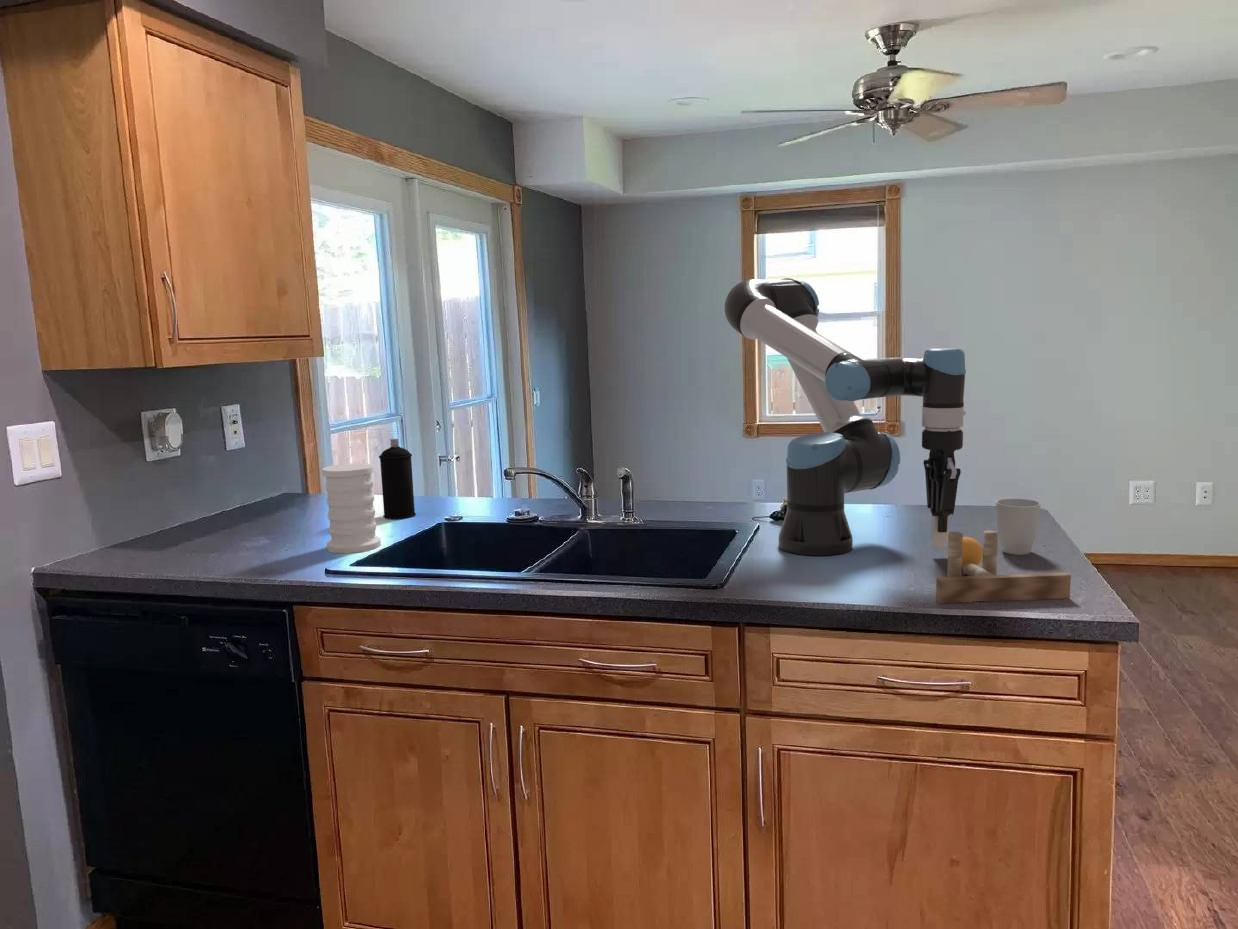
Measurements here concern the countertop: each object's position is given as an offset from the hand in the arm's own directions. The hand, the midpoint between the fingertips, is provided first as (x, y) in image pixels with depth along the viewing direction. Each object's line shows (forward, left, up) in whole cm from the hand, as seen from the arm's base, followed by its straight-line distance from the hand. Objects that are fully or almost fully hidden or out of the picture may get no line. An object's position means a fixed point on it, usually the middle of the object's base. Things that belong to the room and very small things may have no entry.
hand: (939, 547), depth 181 cm
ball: (+2, -9, +1) cm, 9 cm away
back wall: (0, -28, -2) cm, 28 cm away
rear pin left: (+3, -16, -2) cm, 16 cm away
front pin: (+1, -13, -1) cm, 13 cm away
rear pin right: (-3, -16, -2) cm, 16 cm away
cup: (+16, +2, -2) cm, 17 cm away
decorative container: (-122, +26, -2) cm, 125 cm away
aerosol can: (-118, +58, -2) cm, 131 cm away
